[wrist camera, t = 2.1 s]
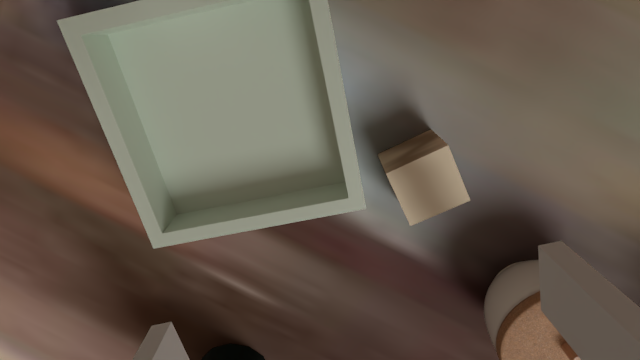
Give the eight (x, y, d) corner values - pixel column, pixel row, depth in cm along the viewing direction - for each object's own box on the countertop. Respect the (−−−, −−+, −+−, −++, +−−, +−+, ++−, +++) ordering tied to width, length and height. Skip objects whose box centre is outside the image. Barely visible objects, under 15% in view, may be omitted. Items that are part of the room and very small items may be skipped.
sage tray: (320, -33, 28) (319, -44, 24) (360, 187, 35) (366, 208, 31) (93, 21, 30) (56, 20, 26) (173, 223, 36) (153, 248, 32)
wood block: (430, 129, 33) (448, 145, 28) (450, 177, 35) (470, 200, 30) (377, 154, 34) (385, 173, 29) (399, 200, 35) (410, 226, 31)
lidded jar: (493, 229, 36) (547, 292, 28) (595, 253, 37) (679, 322, 29) (451, 316, 40) (487, 396, 31) (545, 337, 41) (606, 419, 32)
